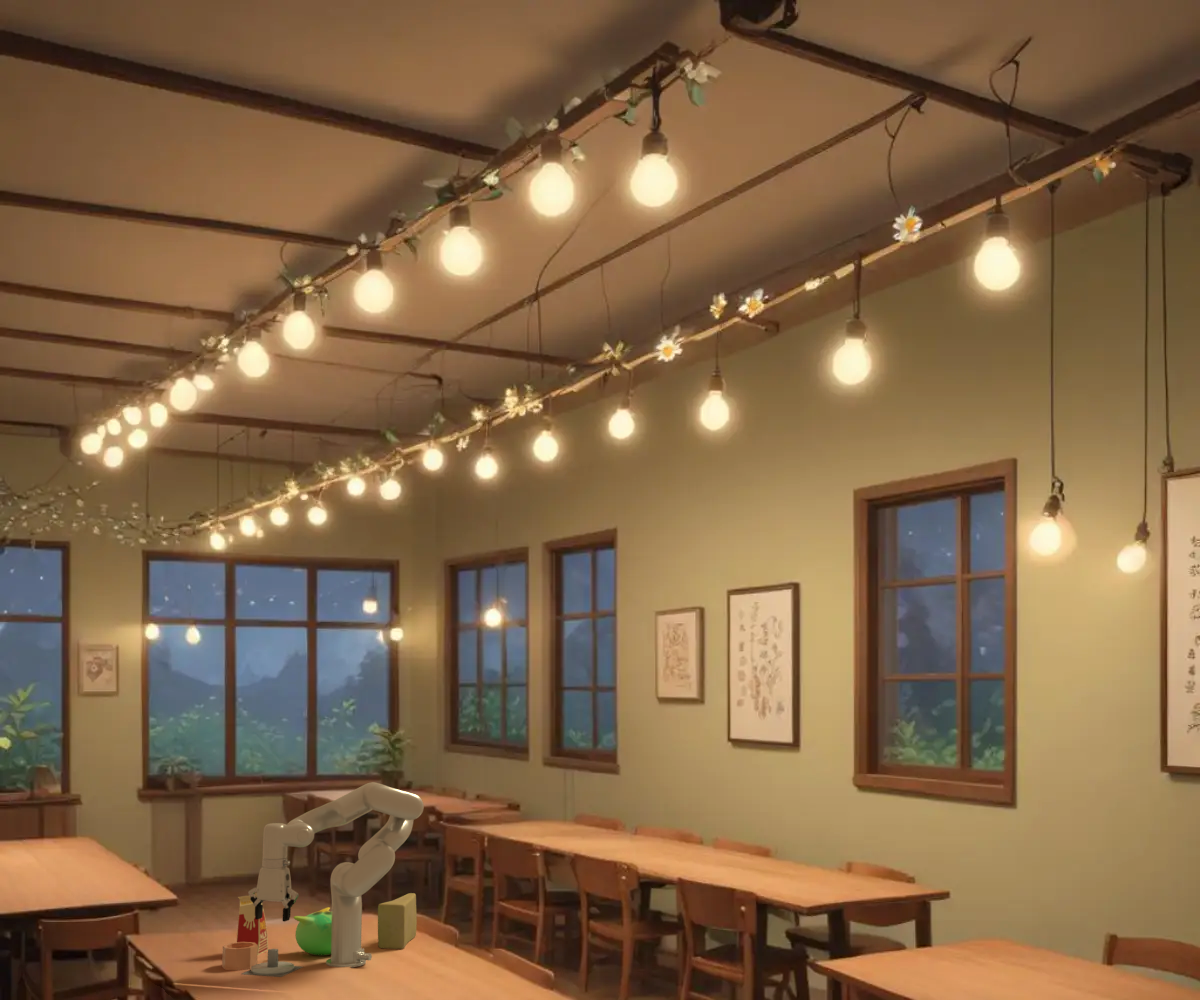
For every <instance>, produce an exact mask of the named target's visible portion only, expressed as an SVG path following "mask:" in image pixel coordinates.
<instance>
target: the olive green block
mask: <svg viewBox="0 0 1200 1000" xmlns="http://www.w3.org/2000/svg"><path fill="white" fill-rule="evenodd" d="M417 921H418V920H417V895H416V893H414V892H413V893H412V892H410V893H407V894H405V895H401V896H400V897H398V898H396V899H393V900H390V901H385V902H382V903H379V904H378V906H377V943H378V944H377V946H378V948H380V949H386V950H387V949H391V950H403V949H405V948H406V946H407V944H408V943H409V942H410V941H412V940H413V939H414V938H415V937H416V936H417Z"/></svg>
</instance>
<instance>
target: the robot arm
mask: <svg viewBox="0 0 1200 1000" xmlns="http://www.w3.org/2000/svg"><path fill="white" fill-rule="evenodd" d="M424 806H425V805H424V802H423V800H422V798H421V797H420V796H419V795H418V794H415V793H412V792H409V791H405V790H402V789H401V790H400V789H397V788H394V787H390V786H388V785H385V784H382V783H379V782H375V781H372V782H368V783H365V784H363V785H361V786H360V787H357V788H356V789H354V790H351V791H350V792H347V793H346V794H344V795H342V796H340V797H338V798H336V799H335V800H332V801H329V802H327V803H325V804H323V805H320V806H317V807H316V808H313V809H311V810H309V811H307V812H304V813H302V814H301V815H299V816H297V817H295V818H293V819H292V820H290V821H289V822H288V823H282V822H277V823H276V822H272V823H267V824H266V825H264V827H263V837H262V838H263V841H262V861H261V862H262V864H261V867H260V869H259V873H258V877H257V878H258V879H257V885H256V887H253V888H251V889H250V890H248V891H247V892H248V896H250V899H251V901H252V902H253V905H254V906H255V919H260V918H262V915H263V910H264V906H263V905H264V904H263V902H275V903H276V902H278V903H280V902H281V903H282V906H283V909H282V922H284V923H285V922H288V921H289V920H290V919H291V913H292V912H291V910H292V909H291V908H292V907H293V906H294V904H295V903H296V902H297V900H298V898H299V893H298V891H295V890H294V889H293V888H292V880H291V878H292V877H291V872H290V868H289V867H288V866H290V865H291V860H288V847H293V848H294V847H295V848H304V847H307V846H309V845H310V844H311V843H312V842H313V841H314V839H315V834H316V833H318V832H321V831H324V830H326V829H330V828H335V827H337V828H338V827H342V826H345V825H347V824H350V823H351V822H353V821H354V820H356V819H358V818H361V817H362V816H364V815H366V814H367V813H370V812H372V811H376V812H380V813H382V814H385V815H389V818H388V820H387V822H386V823H385V824H384V826H382V827H381V828H380V830H378V831H377V832H376V833H375V834H373V836H372V837H371V838H369V839H368V840H367V841H366V842H364V844H363V845H362V846H361V847H360V849H359V851H358V854H357V857H358V859H357V861H356V862H355V863H353V862H348V861H346V862H340V863H339V864H337V865H336V866H335V867H334V869H333V870H332V872H331V875H330V892H331V895H330V896H331V912H332V925H331V954H330V958H329V959H326V961H325V965H326V966H328V967H334V968H351V969H352V968H357V967H361V966H363V965H366V963H367V961H371V960H372V957H373V956H372V953H371V952H365V948H362V928H363V927H362V921H363V920H362V919H363V918H362V916H363V902H362V901H363V900H362V899H363V898H362V895H364V894H366V893H367V892H368V891H369V890H371V888H373V886H375V885H376V884H377V883H378V882H379V881H380V880H381V879H382V878H383V877H385V875H387V873H388V872H389V871H390V870H391V869H392V867H393V865H394V864H395V861H396V860H395V859H396V854H395V852H396V851H397V850H398V849H399V848H400V847H401V846H402V845H403V844H404V843H405V842H406V840H407V839H408V838H409V837H410V835H411V833H412V831H413V826H414V820H416V819H418V818H419V817H420V816H421V815H422V814H423V812H424ZM255 893H257V897H256V896H255ZM261 904H262V905H261Z"/></svg>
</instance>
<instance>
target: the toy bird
mask: <svg viewBox="0 0 1200 1000" xmlns="http://www.w3.org/2000/svg"><path fill="white" fill-rule="evenodd" d="M330 909H331V907H329V906H328V907H324V908H322V909H321V910H318V911H315V912H312V913H309V914H307V915H305V916H302V915H295V916H293V919H294V920H295V921H297V922H298V924H297V926H296V929H295V941H296V943H297V945H298V946H299V948H300V949H301V950H302V951H304V952H305V953H307V954H310V955H314V956H331V925H332V910H331V911H330Z"/></svg>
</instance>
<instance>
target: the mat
mask: <svg viewBox="0 0 1200 1000" xmlns="http://www.w3.org/2000/svg"><path fill="white" fill-rule="evenodd" d="M302 968H303V965H302V966H300V965H294V970H293V971H291V972H288V973H284V974H278V975H257V974H253V973H252V972H251V969H248V970H247V971H245V972H242V973H241V975H246V976H247V975H248V976H260V977H274V978H282V977H284V976H286V975H289V974H291V973H293V972H295V971H297V970H300V969H302Z"/></svg>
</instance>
